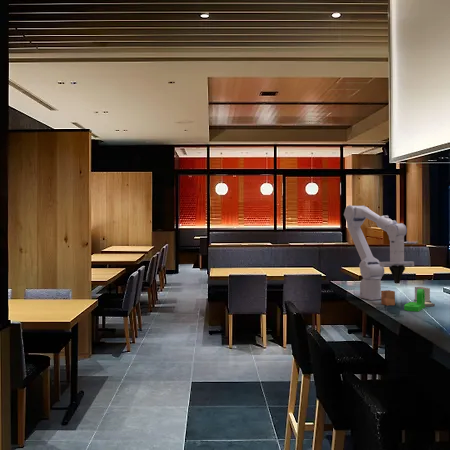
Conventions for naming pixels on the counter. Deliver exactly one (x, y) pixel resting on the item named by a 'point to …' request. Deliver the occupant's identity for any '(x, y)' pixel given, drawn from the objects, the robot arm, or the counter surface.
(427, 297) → the block
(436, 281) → the counter surface
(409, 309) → the mechanical part
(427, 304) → the pad
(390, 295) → the terracotta block
